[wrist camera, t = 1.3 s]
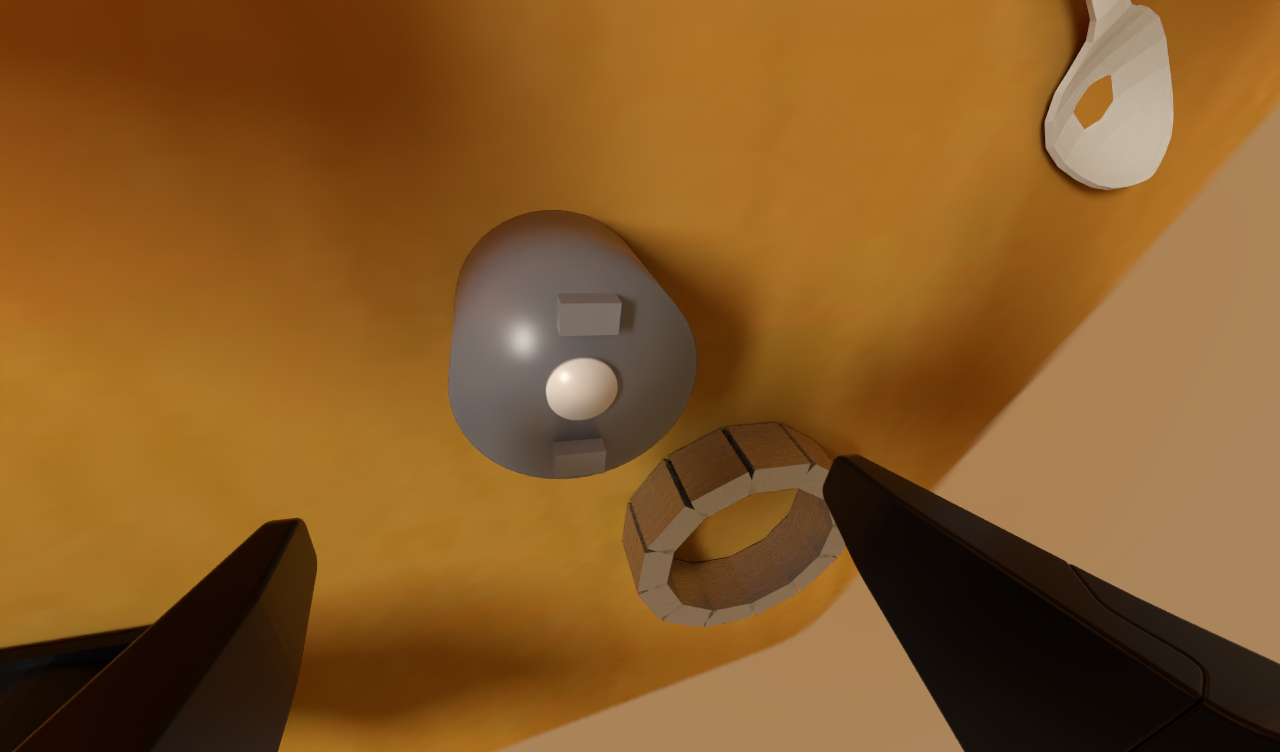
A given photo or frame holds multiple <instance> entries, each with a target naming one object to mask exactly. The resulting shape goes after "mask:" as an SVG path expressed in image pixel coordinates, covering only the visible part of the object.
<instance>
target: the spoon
mask: <svg viewBox="0 0 1280 752" xmlns="http://www.w3.org/2000/svg"><path fill="white" fill-rule="evenodd" d="M1086 4H1087V8H1088V13H1089V17H1090V23H1089V28H1088V33H1087V38H1086V42H1085V43H1084V45H1083V47H1082V49H1081V50H1080V52H1079V54H1078V56H1077V57H1076V59H1075V61H1074V62H1073V64H1072V66H1071V68H1070V69H1069V71H1068V72H1067V74H1066V76H1065V77H1064V79H1063V80H1062V82H1061V84H1060V85H1059V87H1058V88H1057V90H1056V92H1055V94H1054V96H1053V99H1052V102H1051V105H1050V108H1049V111H1048V114H1047V117H1046V120H1045V142H1046V149H1047V151H1048V152H1049V154H1050V155H1051V157H1052V159H1053V160H1054V162H1055V163H1056V165H1057V166H1058V167H1059V168H1060V169H1062V170H1063V171H1064V172H1066V173H1067V174H1068V175H1069V176H1071V177H1072V178H1073V179H1075V180H1077V181H1079V182H1081V183H1083V184H1085V185H1087V186H1089V187H1092V188H1097V189H1103V190H1113V189H1119V188H1125V187H1129V186H1132V185H1135V184H1138V183H1140V182H1143V181H1145V180H1147V179H1149V178H1150V177H1151V176H1152V175H1153V174H1154V173H1155V171H1156V170H1157V168H1158V166H1159V164H1160V163H1161V161H1162V159H1163V157H1164V155H1165V152H1166V150H1167V147H1168V144H1169V141H1170V138H1171V135H1172V126H1173V116H1174V113H1173V92H1172V83H1171V74H1170V66H1169V58H1168V50H1167V42H1166V36H1165V32H1164V29H1163V26H1162V23H1161V20H1160V17H1159V16H1158V15H1157V14H1156V13H1155V12H1154V11H1152V10H1151V9H1150V8H1149V7H1146V6H1144V5H1134V4H1132V2H1131V0H1086ZM1106 75H1111V78H1112V89H1113V102H1112V104H1111V105H1110V106H1109V108H1108V109H1107V111H1106V112H1105V114H1104V115H1103V117H1102V118H1101V120H1099V121H1098V122H1096V123H1094V124H1093V125H1091V126H1089V127H1088V128H1086V129H1084V128H1083V127H1082V125H1081V124H1080V122H1079V121H1078V119H1077V118H1076V116H1075V115H1074V113H1073V112H1074V109H1075V107H1076V104H1077V103H1078V101H1079V100H1080V98H1081V97H1082V95H1083V94H1084V92H1085V91H1086V90H1087V88H1088V87H1089V85H1091V84H1092V83H1094V82H1095V81H1097V80H1099V79H1101V78H1102V77H1104V76H1106Z"/></svg>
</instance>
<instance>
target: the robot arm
mask: <svg viewBox="0 0 1280 752" xmlns="http://www.w3.org/2000/svg"><path fill="white" fill-rule="evenodd" d="M822 493H823V498H824V500H825V502H826V504H827V506H828V509H829V511H830V513H831V515H832V517H833V519H834V521H835V523H836V526H837V528H838V530H839V532H840V534H841V536H842V538H843V540H844V543H845V545H846V547H847V549H848V551H849V553H850V555H851V557H852V559H853V561H854V563H855V565H856V567H857V569H858V571H859V573H860V575H861V577H862V578H863V580H864V582H865V584H866V585H867V587H868V589H869V590H870V592H871V594H872V596H873V597H874V599H875V601H876V602H877V604H878V606H879V607H880V609H881V611H882V613H883V614H884V616H885V617H886V619H887V621H888V623H889V624H890V626H891V628H892V630H893V631H894V633H895V635H896V636H897V638H898V640H899V641H900V643H901V645H902V647H903V648H904V650H905V651H906V653H907V655H908V657H909V659H910V660H911V662H912V664H913V665H914V667H915V669H916V670H917V672H918V674H919V676H920V677H921V679H922V681H923V682H924V684H925V686H926V687H927V689H928V691H929V692H930V694H931V696H932V698H933V699H934V701H935V703H936V704H937V706H938V708H939V710H940V711H941V713H942V715H943V716H944V718H945V720H946V721H947V723H948V725H949V727H950V728H951V730H952V732H953V733H954V735H955V737H956V739H957V740H958V742H959V744H960V745H961V747H962V749H963V750H964V752H1280V664H1279V663H1277V662H1275V661H1272V660H1270V659H1268V658H1266V657H1264V656H1262V655H1259V654H1257V653H1255V652H1253V651H1251V650H1249V649H1247V648H1244V647H1242V646H1240V645H1238V644H1236V643H1234V642H1231V641H1229V640H1227V639H1225V638H1223V637H1221V636H1218V635H1216V634H1214V633H1212V632H1210V631H1208V630H1206V629H1203V628H1201V627H1199V626H1197V625H1195V624H1192V623H1190V622H1188V621H1186V620H1184V619H1182V618H1179V617H1177V616H1175V615H1173V614H1171V613H1169V612H1167V611H1165V610H1163V609H1161V608H1159V607H1156V606H1154V605H1152V604H1150V603H1148V602H1146V601H1144V600H1142V599H1139V598H1137V597H1135V596H1133V595H1131V594H1129V593H1127V592H1125V591H1123V590H1121V589H1119V588H1117V587H1115V586H1113V585H1111V584H1109V583H1107V582H1105V581H1103V580H1101V579H1099V578H1097V577H1095V576H1093V575H1092V574H1090V573H1087V572H1086V571H1084V570H1082V569H1080V568H1078V567H1076V566H1074V565H1072V564H1068V563H1067V562H1066V561H1064V560H1062V559H1060V558H1058V557H1057V556H1054V555H1053V554H1051V553H1048V552H1047V551H1045V550H1043V549H1041V548H1039V547H1037V546H1035V545H1033V544H1031V543H1029V542H1027V541H1025V540H1023V539H1021V538H1020V537H1018V536H1015V535H1014V534H1012V533H1009V532H1007V531H1006V530H1004V529H1002V528H1000V527H998V526H996V525H994V524H992V523H990V522H988V521H986V520H984V519H983V518H981V517H979V516H977V515H975V514H973V513H971V512H969V511H967V510H965V509H963V508H961V507H959V506H957V505H955V504H953V503H951V502H949V501H947V500H946V499H944V498H942V497H940V496H938V495H936V494H934V493H932V492H930V491H928V490H926V489H924V488H922V487H920V486H918V485H916V484H914V483H913V482H911V481H909V480H907V479H905V478H903V477H901V476H899V475H897V474H895V473H893V472H891V471H889V470H887V469H885V468H883V467H881V466H879V465H878V464H876V463H874V462H872V461H870V460H868V459H866V458H864V457H862V456H860V455H857V454H850V455H841V456H838V457H836V458H835V459H834V461H833V463H832V465H831V467H830V470H829V472H828V475H827V477H826V479H825V482H824V484H823V488H822ZM316 573H317V557H316V553H315V550H314V547H313V544H312V541H311V538H310V535H309V532H308V530H307V527H306V524H305V522H304V521H303V520H302V519H300V518H290V519H282V520H273V521H269V522H267V523H265V524H263V525H262V526H261V527H260V528H259V529H257V530H256V531H255V532H254V533H253V534H252V535H251V536H250V537H249V538H247V539H246V540H245V541H244V542H243V543H242V544H241V545H240V546H239V547H238V548H236V549H235V550H234V551H233V552H232V553H231V554H230V555H229V556H228V557H227V558H225V559H224V560H223V561H222V562H221V563H220V564H219V565H218V566H217V567H215V568H214V569H213V570H212V571H211V572H210V573H209V574H208V575H207V576H206V577H204V578H203V579H202V580H201V581H200V582H199V583H198V584H197V585H196V586H195V587H193V588H192V589H191V590H190V591H189V592H188V593H187V594H186V595H185V596H183V597H182V598H181V599H180V600H179V601H178V602H177V603H176V604H175V605H174V606H172V607H171V608H170V609H169V610H168V611H167V612H166V613H165V614H164V615H163V616H161V617H160V618H159V619H158V620H157V621H156V622H155V623H154V624H153V625H151V626H150V627H149V628H148V629H147V630H141V631H134V632H128V633H122V634H115V635H109V636H103V637H96V638H90V639H84V640H77V641H71V642H65V643H59V644H52V645H46V646H40V647H33V648H27V649H21V650H14V651H8V652H2V653H0V752H278V749H279V746H280V743H281V739H282V736H283V732H284V729H285V725H286V722H287V718H288V715H289V711H290V708H291V705H292V701H293V697H294V694H295V690H296V686H297V682H298V677H299V672H300V667H301V662H302V656H303V650H304V644H305V638H306V632H307V626H308V620H309V614H310V608H311V602H312V596H313V591H314V585H315V579H316Z"/></svg>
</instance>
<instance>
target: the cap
mask: <svg viewBox="0 0 1280 752" xmlns="http://www.w3.org/2000/svg"><path fill="white" fill-rule="evenodd" d="M696 371H697V352H696V346H695V340H694V337H693V334H692V331H691V328H690V326H689V324H688V322H687V320H686V318H685V317H684V315H683V314H682V312H681V311H680V310H679V308H678V307H677V305H676V304H675V303H674V302H673V300H672V299H671V298H670V297H669V296H668V294H667V293H666V292H665V291H664V289H663V288H662V287H661V286H660V285H659V283H658V282H657V281H656V280H655V278H654V277H653V276H652V275H651V274H650V272H649V271H648V270H647V269H646V267H645V266H644V265H643V264H642V262H641V261H640V260H639V259H638V258H637V256H636V255H635V254H634V253H633V251H632V250H631V249H630V248H629V247H628V245H627V244H626V243H625V242H624V241H623V240H622V239H621V238H620V237H619V236H618V235H617V234H616V233H615V232H614V231H612V230H611V229H610V228H609V227H607V226H606V225H604V224H602V223H601V222H599V221H597V220H595V219H593V218H590V217H588V216H585V215H582V214H578V213H574V212H570V211H561V210H542V211H536V212H530V213H526V214H523V215H519V216H516V217H514V218H512V219H509V220H507V221H505V222H503V223H502V224H500V225H498V226H497V227H495V228H493V229H492V230H491V231H490V232H488V233H487V234H486V235H485V236H484V237H482V239H481V240H480V241H479V242H478V243H477V244H476V245H475V246H474V247H473V249H472V250H471V252H470V253H469V255H468V256H467V258H466V260H465V262H464V264H463V266H462V268H461V271H460V274H459V277H458V281H457V287H456V294H455V305H454V317H453V330H452V342H451V354H450V366H449V378H448V383H449V398H450V403H451V408H452V411H453V414H454V416H455V419H456V421H457V423H458V425H459V427H460V428H461V430H462V432H463V434H464V435H465V436H466V437H467V439H468V440H469V441H470V442H471V444H472V445H473V446H474V447H475V448H477V449H478V450H479V451H480V452H481V453H482V454H483V455H485V456H486V457H488V458H489V459H490V460H492V461H493V462H495V463H497V464H499V465H501V466H503V467H505V468H507V469H510V470H512V471H515V472H518V473H521V474H525V475H529V476H533V477H540V478H547V479H569V478H579V477H586V476H591V475H595V474H600V473H604V472H606V471H608V470H611V469H614V468H617V467H619V466H621V465H623V464H625V463H627V462H630V461H631V460H633V459H635V458H636V457H638V456H640V455H641V454H643V453H644V452H646V451H647V450H648V449H650V448H651V447H653V446H654V445H655V444H656V443H657V442H658V441H659V440H660V439H662V438H663V437H664V436H665V435H666V433H667V432H668V431H669V430H670V429H671V428H672V427H673V425H674V424H675V423H676V421H677V420H678V419H679V417H680V416H681V414H682V412H683V410H684V409H685V407H686V405H687V403H688V401H689V398H690V396H691V393H692V390H693V387H694V383H695V378H696Z"/></svg>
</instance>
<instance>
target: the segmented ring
mask: <svg viewBox="0 0 1280 752" xmlns="http://www.w3.org/2000/svg"><path fill="white" fill-rule="evenodd" d="M668 456H669V458H670V460H671V462H672V463H671V462H668V461H666V460H662V462H661V463H660V464H659V465H658V466H657V468H656V469H655V470H654V471H653V472H652V474H651V475H650V476H649V477H648V478H647V480H646V481H645V482H644V483H643V484H642V485H641V487H640V488H639V489H638V490H637V491H636V493H635V494H634V495H633V496H632V497H631V499H630V501H631V503H630V504H628V506H627V513H626V520H625V526H624V533H623V540H622V542H623V546H624V549H625V552H626V556H627V559H628V562H629V565H630V569H631V572H632V575H633V579H634V582H635V585H636V589H637V592H638V595H639V597H640V598H641V599H642V600H643V601H644V602H645V604H646V605H647V606H648V607H649V608H650V610H651V611H652V612H653V613H654V614H655V615H656V617H657V618H658V619H661V618H662V621H665V622H671V623H677V624H682V625H688V626H694V627H701V626H702V625H703V624H704V626H705V627H709V626H713V625H718V624H723V623H727V622H732V621H737V620H741V619H746V618H750V616H751V614H752V611H753V613H754V615H755V616H756V615H757V614H759V613H761V612H763V611H765V610H767V609H769V608H771V607H773V606H775V605H777V604H779V603H781V602H782V601H784V600H786V599H788V598H790V597H792V596H794V595H796V594H798V591H797V589H801V590H804V589H805V588H806V587H807V586H808V585H809V584H810V583H811V582H812V581H813V580H814V579H816V578H817V577H818V576H819V575H820V574H821V573H822V572H823V571H824V570H825V569H826V568H827V567H829V566H830V565H831V564H832V563H833V562H834V561H835V560H836V559H837V557H836V556H835V555H840V554H841V552H842V550H843V548H844V546H845V543H844V540H843V538H842V536H841V534H840V532H839V530H838V528H837V526H836V523H835V521H834V519H833V517H832V515H831V513H830V511H829V509H828V506H827V504H826V502H825V500H824V498H823V493H822V488H823V484H824V482H825V479H826V477H827V475H828V472H829V470H830V467H831V465H832V463H833V461H832V460H831V459H830V458H829V457H828V456H827V454H826V453H825V452H824V451H823V450H822V449H821V448H820V446H819V445H818V444H817V443H816V442H815V441H814V440H812V439H810V438H808V437H806V436H805V435H803V434H801V433H799V432H797V431H795V430H793V429H792V428H790V427H788V426H786V425H784V424H781V425H780V426H779V424H778V423H777V422H775V423H764V424H752V425H740V426H728V427H726V429H725V433H724V434H723V433H722V431H721V429H718V430H716V431H714V432H712V433H710V434H709V435H707V436H705V437H703V438H701V439H699V440H697V441H695V442H693V443H691V444H689V445H688V446H686V447H684V448H682V449H680V450H678V451H676V452H674V453H672V454H670V455H668ZM792 488H799V492H798V494H797V497H796V499H795V502H794V504H793V507H792V509H791V512H790V514H789V515H788V516H787V517H786V518H785V519H784V520H783V521H782V522H781V523H780V524H779V525H778V526H777V527H776V528H775V529H774V530H773V531H772V532H771V533H770V534H769V535H768V536H767V537H766V538H765V539H764V540H762V541H760V542H758V543H756V544H754V545H752V546H751V547H749V548H747V549H745V550H743V551H741V552H739V553H737V554H735V555H733V556H731V557H729V558H724V559H718V560H712V561H706V562H700V563H695V564H693V563H689V562H686V561H682V560H678V559H674V558H673V555H674V552H675V550H676V549H677V548H678V547H679V546H680V545H681V544H682V543H683V542H684V541H685V540H686V539H687V537H688V536H689V535H690V534H691V533H692V532H693V531H694V530H695V529H696V528H697V527H698V526H699V525H700V523H701V522H702V521H703V520H704V519H705V518H706V517H708V516H710V515H712V514H714V513H716V512H718V511H720V510H722V509H724V508H726V507H728V506H729V505H731V504H733V503H735V502H737V501H739V500H741V499H743V498H745V497H747V496H749V495H751V494H754V493H761V492H769V491H777V490H784V489H792ZM796 588H797V589H796Z"/></svg>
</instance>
